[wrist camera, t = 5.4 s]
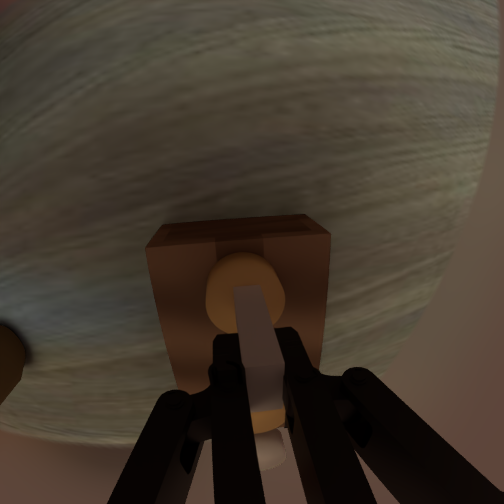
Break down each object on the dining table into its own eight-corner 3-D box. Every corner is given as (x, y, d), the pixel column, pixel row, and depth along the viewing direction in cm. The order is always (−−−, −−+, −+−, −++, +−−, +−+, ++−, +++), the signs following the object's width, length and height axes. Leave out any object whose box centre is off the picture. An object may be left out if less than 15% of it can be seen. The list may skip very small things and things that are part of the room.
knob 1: (206, 231, 22) (201, 270, 15) (263, 227, 23) (285, 263, 16) (211, 283, 24) (210, 339, 17) (265, 278, 24) (284, 331, 17)
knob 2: (223, 383, 25) (228, 451, 17) (271, 378, 25) (288, 444, 18) (228, 411, 26) (233, 473, 19) (271, 406, 27) (285, 467, 19)
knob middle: (214, 324, 22) (215, 396, 15) (271, 319, 23) (293, 388, 15) (220, 365, 24) (224, 436, 16) (271, 360, 24) (289, 428, 17)
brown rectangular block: (162, 224, 23) (145, 247, 17) (304, 214, 24) (330, 233, 18) (195, 394, 29) (194, 434, 24) (297, 384, 31) (310, 421, 25)
